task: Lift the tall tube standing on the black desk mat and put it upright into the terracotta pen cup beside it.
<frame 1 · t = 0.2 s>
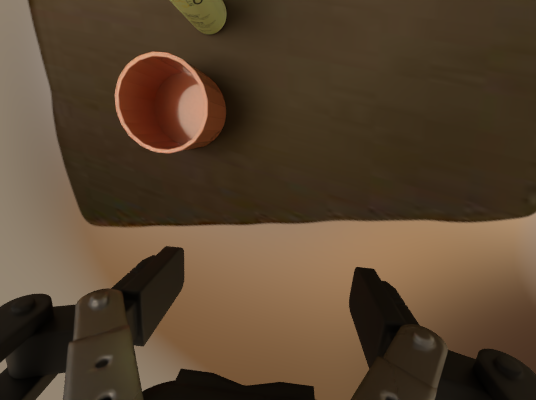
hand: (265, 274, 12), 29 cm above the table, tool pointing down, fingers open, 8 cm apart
pen cup: (189, 110, 39), on the table
tube: (208, 15, 36), on the table
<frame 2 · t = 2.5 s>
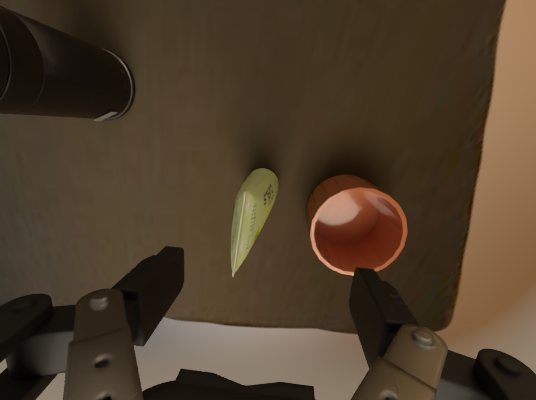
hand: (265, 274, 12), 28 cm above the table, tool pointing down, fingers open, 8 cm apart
pen cup: (343, 210, 39), on the table
tube: (262, 185, 40), on the table
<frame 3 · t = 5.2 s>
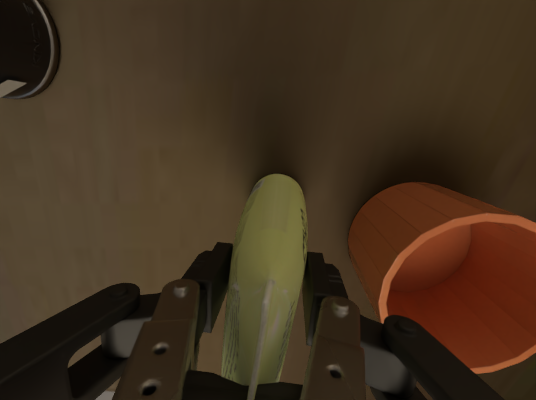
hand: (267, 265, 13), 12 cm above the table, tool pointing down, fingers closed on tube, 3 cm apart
pen cup: (408, 240, 24), on the table
tube: (276, 201, 25), on the table, touching gripper
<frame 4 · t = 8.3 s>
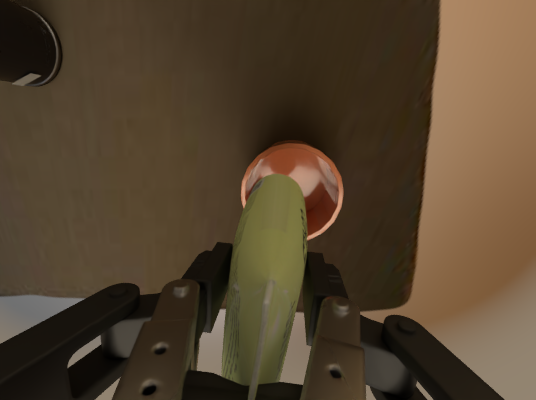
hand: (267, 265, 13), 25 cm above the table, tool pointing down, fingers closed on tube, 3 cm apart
pen cup: (290, 179, 37), on the table
tube: (276, 201, 25), point 13 cm above the table, touching gripper
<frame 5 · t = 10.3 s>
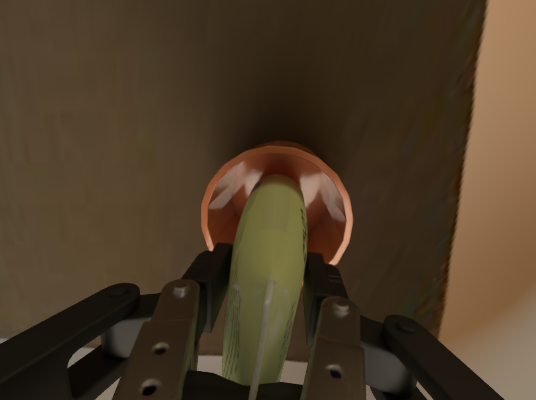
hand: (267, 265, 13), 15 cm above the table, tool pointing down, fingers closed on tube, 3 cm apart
pen cup: (279, 193, 28), on the table
tube: (276, 201, 25), point 3 cm above the table, touching gripper
when the fingers open (12 cm above the table, at t = 11.6 s): tube stays where it is, resting on pen cup.
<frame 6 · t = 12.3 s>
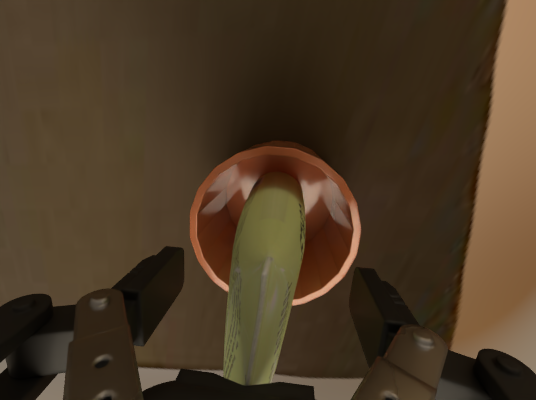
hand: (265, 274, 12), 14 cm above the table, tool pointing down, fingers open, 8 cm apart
pen cup: (278, 198, 26), on the table
tube: (276, 198, 25), resting on pen cup
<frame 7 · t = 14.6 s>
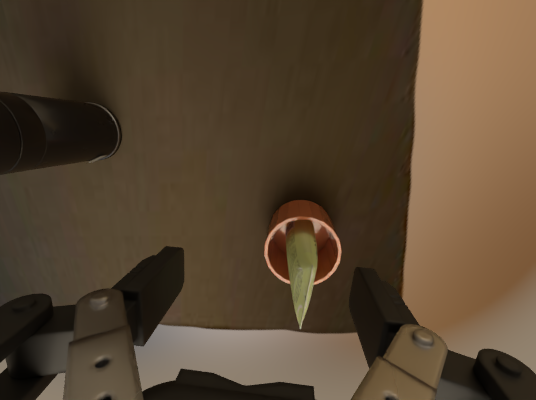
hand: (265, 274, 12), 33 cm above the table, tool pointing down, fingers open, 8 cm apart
pen cup: (300, 229, 47), on the table
tube: (299, 229, 46), resting on pen cup
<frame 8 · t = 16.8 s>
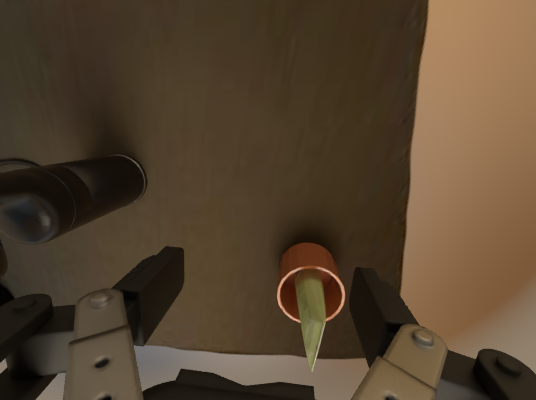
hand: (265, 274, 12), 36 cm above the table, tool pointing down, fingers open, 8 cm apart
pen cup: (307, 268, 52), on the table
tube: (306, 268, 51), resting on pen cup
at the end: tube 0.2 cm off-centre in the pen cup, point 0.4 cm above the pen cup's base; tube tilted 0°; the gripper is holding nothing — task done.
